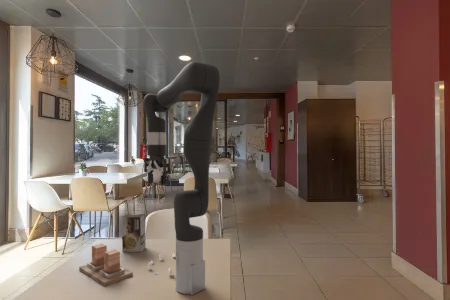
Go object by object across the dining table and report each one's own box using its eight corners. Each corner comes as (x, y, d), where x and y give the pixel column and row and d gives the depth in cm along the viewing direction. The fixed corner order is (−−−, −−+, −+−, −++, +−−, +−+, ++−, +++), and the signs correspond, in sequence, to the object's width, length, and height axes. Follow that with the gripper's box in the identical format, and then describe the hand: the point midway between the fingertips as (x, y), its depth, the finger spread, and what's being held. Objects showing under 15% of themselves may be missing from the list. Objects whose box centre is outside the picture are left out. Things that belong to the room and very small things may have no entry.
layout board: (132, 275, 108) (132, 250, 107) (104, 286, 99) (104, 259, 99) (106, 261, 121) (106, 239, 120) (79, 269, 112) (79, 246, 112)
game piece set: (188, 279, 105) (188, 269, 105) (137, 274, 109) (137, 264, 109) (202, 259, 124) (202, 250, 124) (159, 255, 128) (159, 247, 128)
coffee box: (146, 247, 138) (146, 213, 138) (140, 252, 131) (140, 217, 131) (127, 246, 139) (127, 213, 138) (121, 251, 132) (121, 216, 132)
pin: (119, 273, 107) (119, 251, 107) (109, 276, 104) (109, 254, 104) (114, 270, 109) (114, 249, 109) (104, 273, 106) (104, 251, 106)
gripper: (175, 143, 115) (175, 184, 115) (154, 144, 124) (154, 181, 124) (160, 143, 109) (159, 186, 109) (138, 143, 118) (138, 183, 118)
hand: (156, 183), depth 117 cm, fingers open, 8 cm apart
